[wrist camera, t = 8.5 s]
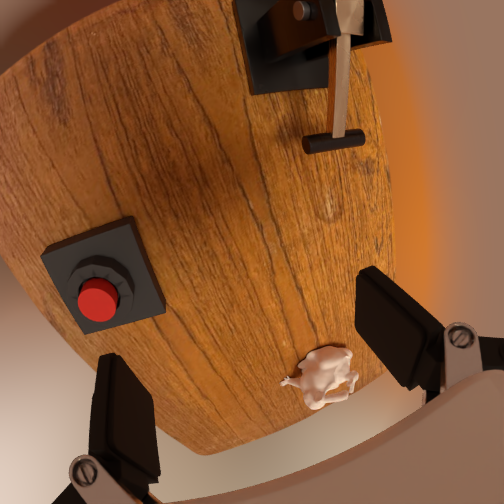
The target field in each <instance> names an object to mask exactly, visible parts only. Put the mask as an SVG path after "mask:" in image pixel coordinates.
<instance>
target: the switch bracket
mask: <svg viewBox="0 0 504 504" xmlns="http://www.w3.org/2000/svg"><path fill="white" fill-rule="evenodd" d="M232 6H233V10H234V15H235V20H236V24H237V29H238V33H239V38H240V43H241V48H242V52H243V57H244V62H245V67H246V72H247V77H248V82H249V87H250V92H251V96H254V95H260V94H267V93H275V92H283V91H293V90H304V89H317V88H328V81H329V40H331V39H334V38H336V37H339V36H341V31H340V26H339V22H338V18H337V14H336V10H335V6H334V2H333V0H233V1H232ZM389 42H392V38H391V33H390V29H389V25H388V20H387V16H386V12H385V8H384V5H383V1H382V0H364V35H353V34H351V42H350V51H352V50H356V49H360V48H365V47H369V46H374V45H379V44H384V43H389Z"/></svg>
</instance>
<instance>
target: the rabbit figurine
mask: <svg viewBox="0 0 504 504" xmlns="http://www.w3.org/2000/svg"><path fill="white" fill-rule="evenodd" d="M351 357H352V352H351V351H350V350H349V349H347V348H337V347H333V346H326V347H323V348H321V349H318V350H314V351H311V352H310V353H308V355H307V357H306V359H305V360H303V361H302V362H300V363H299V364H298V368H301V369H302V371H301V372H302V373H303V374H302V376H301V378H289V376H287V378H284V379H285V380H284V381H281V382H280V383H281V385H283V386H285V385H286V384H291V385H293V386H296V387H299V388H300V389H301V391H302V392H303V393H304V395H303V399H304V402H305V404H306V405H307V406H308V407H309V408H310V409H313V410H317V409H320V408H321V407H323V406H324V405H325V403H327V402H339V401H342V400H346V399H347V398H348V396H349V395H348V394H349V393H353V391H354V385H355V382H356V381H357V380H358V373H357V371H355V370H353V371H352V372H350V368H349V365H350V358H351ZM344 381H348V382H347V386H350V385H351V386H350V389H349V392H348V391H347V390H344V391H341V392H338V393H333V394H329V395H325V393H326V392H327V391H328V390H331V389H335V388H337V387H338V386H339V384H340V383H342V382H344ZM280 383H279V384H280Z"/></svg>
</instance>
